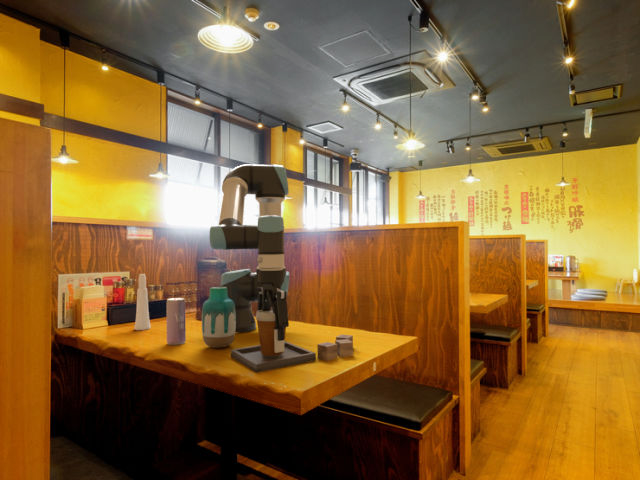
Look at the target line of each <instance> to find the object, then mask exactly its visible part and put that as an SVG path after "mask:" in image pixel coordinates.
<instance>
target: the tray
mask: <svg viewBox="0 0 640 480" xmlns="http://www.w3.org/2000/svg"><path fill="white" fill-rule="evenodd" d="M316 353H317V352H315V351H314V352H313V351H312V350H309V349H306V348H303V347H301V346H299V345H295V344H293V343H292V342H289V341H286V340H285V341H284V351H283V353H282V354H280V355H276V356H266V355H262V354H261V347H260V344H258V345H257V344H256V345H253V346H245V347H239V348H235V349H233V348H232V349H231V350H230V357H231V358H232V359H234V360H235V361H237V362H239V363H240V364H243V366H246V367H247V368H249V369H250V370H252V371H254V372H255V373H261V372H265V371H271V370H276V369H280V368H284V367H289V366H294V365H295V366H296V365H300V364H304V363H309V362H310V363H311V362H315V361H316V359H317V357H316V356H317V355H316Z"/></svg>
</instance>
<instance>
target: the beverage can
mask: <svg viewBox="0 0 640 480" xmlns="http://www.w3.org/2000/svg"><path fill="white" fill-rule="evenodd" d="M186 328H187V327H186V299H185V298H184V297H171V298H167V299H166V344H167V345H168V346H179V345H183V344H185V342H186V341H187V339H186V332H187V331H186Z"/></svg>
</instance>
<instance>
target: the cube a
mask: <svg viewBox="0 0 640 480" xmlns="http://www.w3.org/2000/svg"><path fill="white" fill-rule="evenodd" d="M316 347H317V359H320V360H322V359H323V361H327V362H328V361H332V360H335V358H336V359H338V355H337V344H335V342H329V341H326V342H321V343H318V344H317V346H316Z"/></svg>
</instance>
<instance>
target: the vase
mask: <svg viewBox="0 0 640 480" xmlns="http://www.w3.org/2000/svg"><path fill="white" fill-rule="evenodd" d="M201 309H202V310H201V332H202V333H201V334H202V340H203V342H204V345H206V346H207V347H209V348H214V349H220V348H225V347H228V346H230V345H231V344H232V343H233V341H235V337H236V333H235V329H236V314H235V305H234V302H233V301H232V300H231V299H229V298H228V294H227V287H221V286H216V287H215V286H213V287H210V288H209V297H208V298H207V300H205V301H204V302H203V303H202V308H201Z"/></svg>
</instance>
